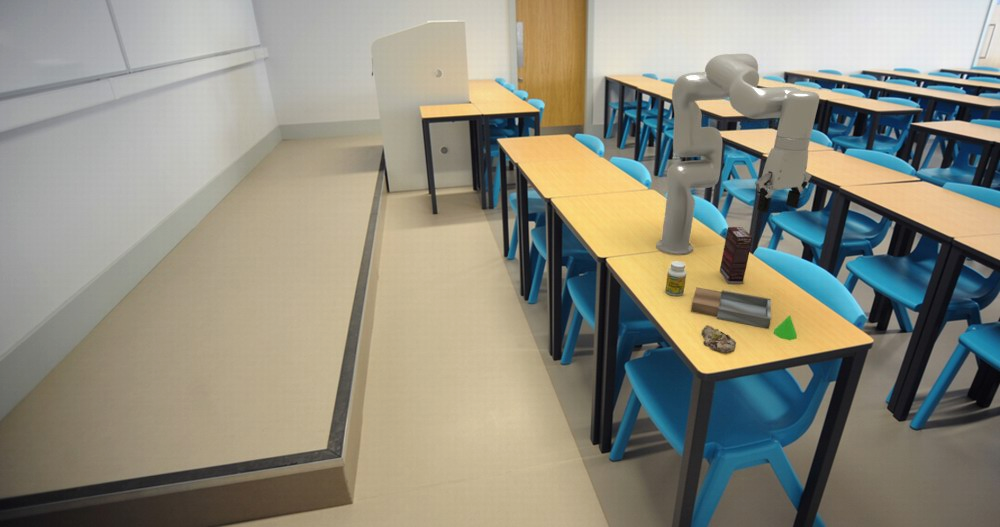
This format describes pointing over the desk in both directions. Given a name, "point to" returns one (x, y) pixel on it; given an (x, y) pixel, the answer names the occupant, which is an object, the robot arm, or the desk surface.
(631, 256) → the desk surface
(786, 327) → the gemstone
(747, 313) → the tray
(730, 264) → the supplement box
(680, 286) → the supplement bottle
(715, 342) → the mineral rock
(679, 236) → the robot arm
